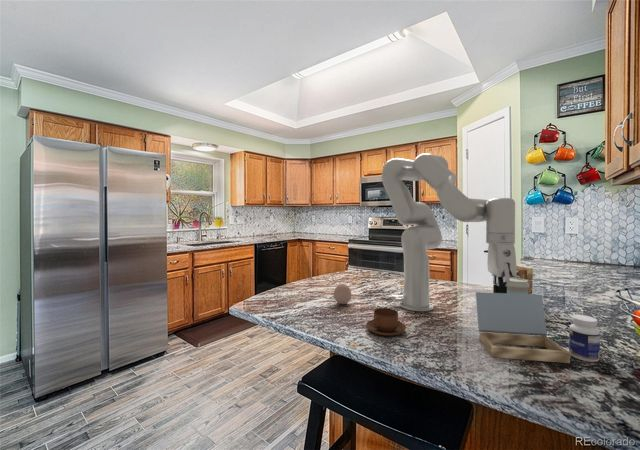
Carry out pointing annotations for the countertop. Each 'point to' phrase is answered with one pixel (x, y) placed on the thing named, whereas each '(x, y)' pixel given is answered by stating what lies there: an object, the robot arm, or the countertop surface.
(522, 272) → the candy box
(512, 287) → the coffee cup
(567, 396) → the countertop surface
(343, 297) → the egg
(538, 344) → the hinged lid wooden box
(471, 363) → the countertop surface
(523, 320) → the cover
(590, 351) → the pill bottle
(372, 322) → the cup and saucer
